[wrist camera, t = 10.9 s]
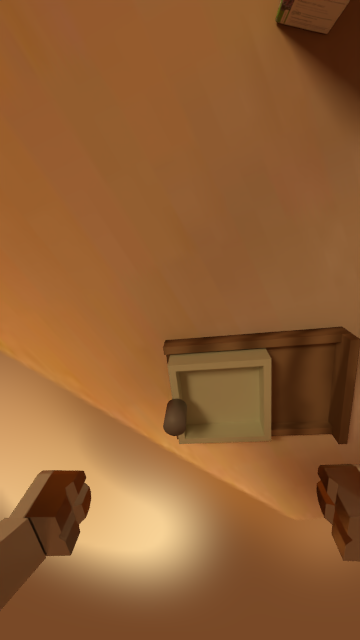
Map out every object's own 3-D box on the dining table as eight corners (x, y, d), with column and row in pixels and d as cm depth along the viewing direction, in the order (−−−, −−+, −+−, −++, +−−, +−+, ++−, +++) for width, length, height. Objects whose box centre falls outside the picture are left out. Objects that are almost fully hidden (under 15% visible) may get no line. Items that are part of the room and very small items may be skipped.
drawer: (264, 345, 37) (280, 375, 30) (264, 421, 42) (279, 464, 34) (164, 352, 39) (155, 382, 31) (175, 425, 43) (170, 466, 36)
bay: (341, 326, 36) (360, 339, 32) (332, 422, 42) (347, 443, 38) (165, 340, 39) (161, 353, 35) (178, 428, 45) (176, 448, 41)
